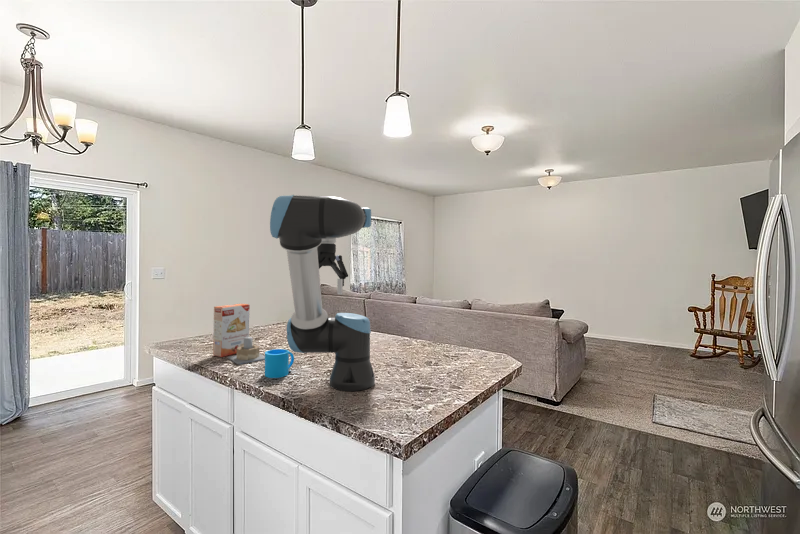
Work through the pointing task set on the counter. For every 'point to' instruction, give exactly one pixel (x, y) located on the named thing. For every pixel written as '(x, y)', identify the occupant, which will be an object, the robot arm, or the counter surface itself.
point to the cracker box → (230, 328)
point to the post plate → (234, 358)
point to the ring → (247, 353)
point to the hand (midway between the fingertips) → (325, 295)
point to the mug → (277, 363)
